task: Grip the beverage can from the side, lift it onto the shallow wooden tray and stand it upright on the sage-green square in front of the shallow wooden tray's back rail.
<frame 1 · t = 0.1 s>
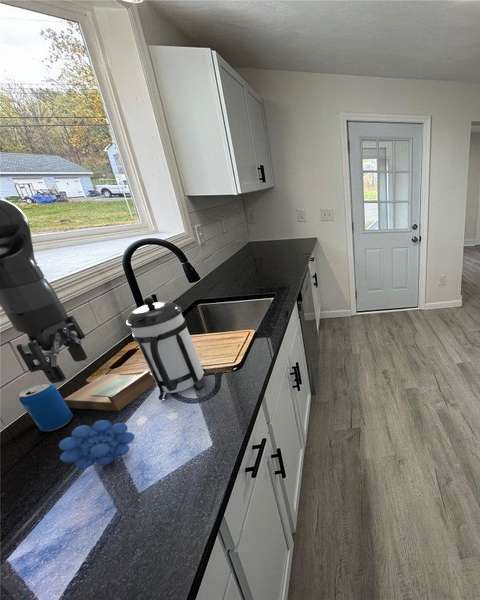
hand: (70, 370, 69), 22 cm above the counter, tool pointing down, fingers open, 8 cm apart
shallow wooden tray: (113, 395, 96), on the counter
beverage can: (58, 424, 86), on the counter
coffee press: (185, 388, 97), on the counter
blue lobed cluster: (110, 465, 72), on the counter
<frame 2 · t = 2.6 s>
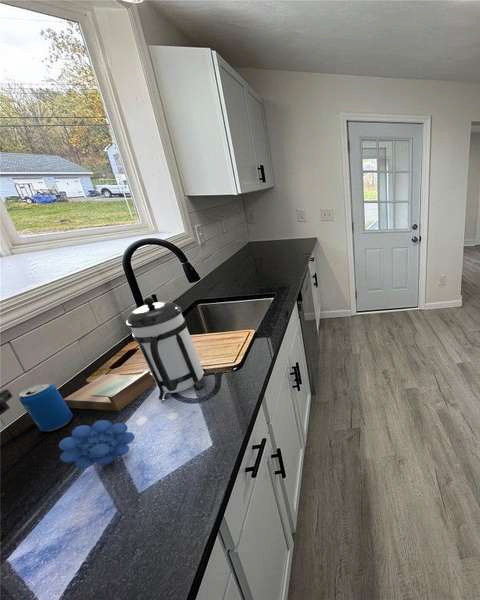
nothing on the counter moved.
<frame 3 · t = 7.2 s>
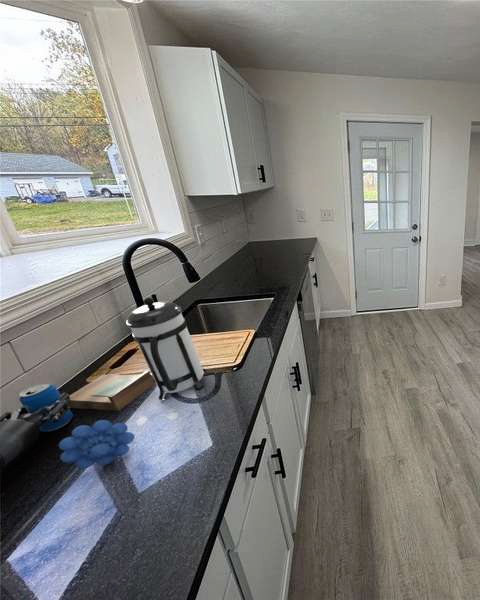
hand: (50, 398, 85), 7 cm above the counter, tool horizontal, fingers closed on beverage can, 6 cm apart
beverage can: (58, 424, 86), on the counter, touching gripper
everything else where it was.
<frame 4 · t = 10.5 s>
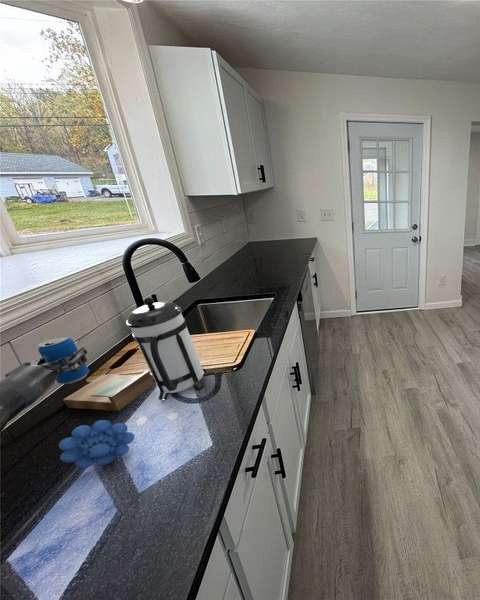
hand: (68, 352, 86), 18 cm above the counter, tool horizontal, fingers closed on beverage can, 6 cm apart
beverage can: (75, 379, 87), point 11 cm above the counter, touching gripper
everything else where it was.
when the fingers open (10 cm above the counter, at t = 13.9 s): beverage can stays where it is, resting on shallow wooden tray.
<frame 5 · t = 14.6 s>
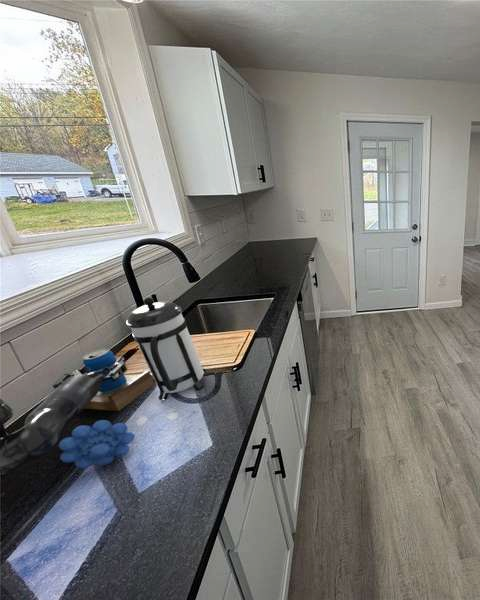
hand: (105, 362, 93), 11 cm above the counter, tool horizontal, fingers open, 8 cm apart
beverage can: (114, 387, 94), point 3 cm above the counter, touching shallow wooden tray
everything else where it was.
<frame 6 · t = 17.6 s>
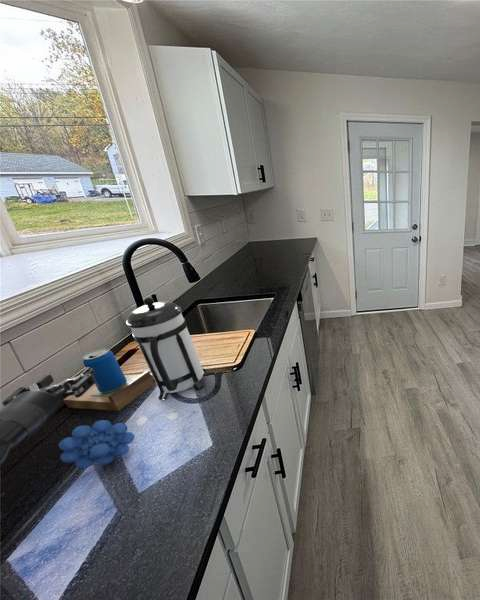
hand: (70, 373, 80), 16 cm above the counter, tool horizontal, fingers open, 8 cm apart
nothing on the counter moved.
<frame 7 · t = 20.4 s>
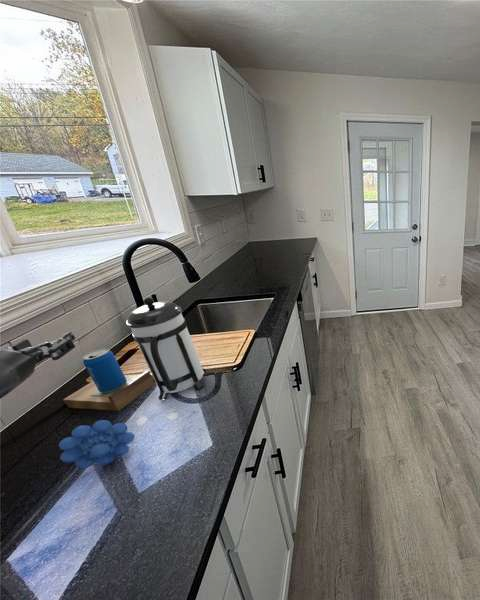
hand: (50, 339, 75), 26 cm above the counter, tool horizontal, fingers open, 8 cm apart
nothing on the counter moved.
at the end: beverage can 0.1 cm from the target spot on the shallow wooden tray, point 3.0 cm above the shallow wooden tray's base; beverage can tilted 0°; the gripper is holding nothing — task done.
